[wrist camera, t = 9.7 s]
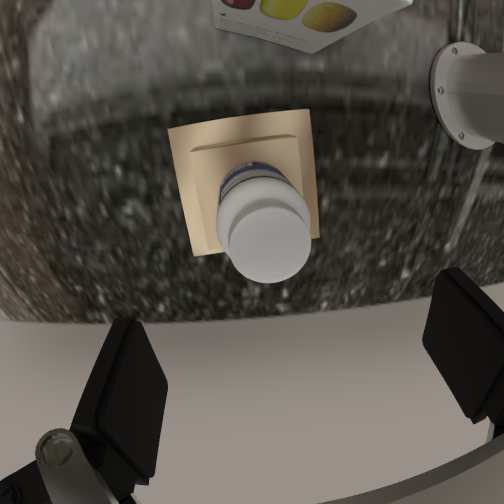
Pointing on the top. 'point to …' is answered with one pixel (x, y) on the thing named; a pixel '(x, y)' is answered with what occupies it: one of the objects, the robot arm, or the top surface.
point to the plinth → (232, 132)
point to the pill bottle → (262, 222)
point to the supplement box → (300, 19)
